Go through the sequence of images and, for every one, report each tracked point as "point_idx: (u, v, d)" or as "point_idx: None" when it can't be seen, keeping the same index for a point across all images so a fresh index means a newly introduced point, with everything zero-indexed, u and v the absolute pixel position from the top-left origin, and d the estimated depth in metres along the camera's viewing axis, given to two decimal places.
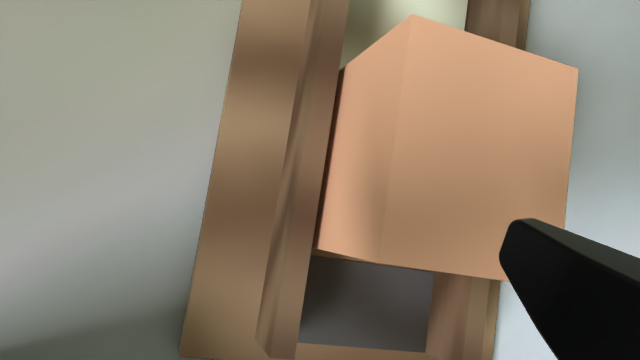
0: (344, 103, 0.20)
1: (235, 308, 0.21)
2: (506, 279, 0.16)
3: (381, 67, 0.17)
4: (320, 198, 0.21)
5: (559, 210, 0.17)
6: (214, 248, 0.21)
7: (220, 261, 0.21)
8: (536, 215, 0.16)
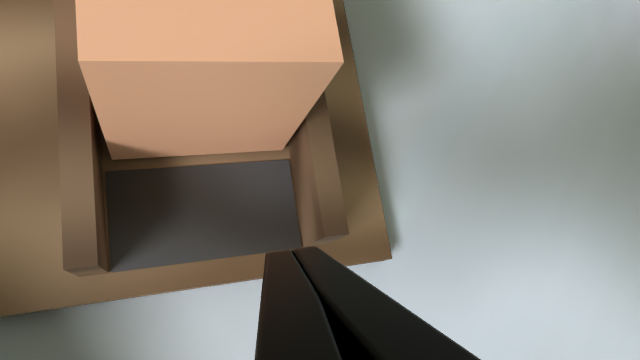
0: None
1: (44, 247, 0.18)
2: (269, 60, 0.13)
3: None
4: None
5: None
6: (2, 186, 0.18)
7: (13, 199, 0.18)
8: None
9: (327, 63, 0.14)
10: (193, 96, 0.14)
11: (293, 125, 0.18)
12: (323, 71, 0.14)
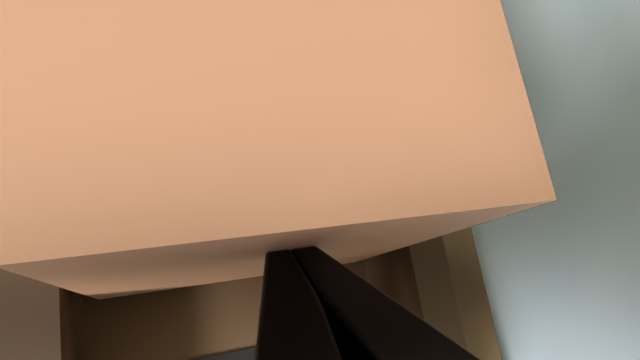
0: None
1: None
2: (422, 211, 0.06)
3: None
4: None
5: (496, 34, 0.07)
6: None
7: None
8: (446, 53, 0.07)
9: (526, 204, 0.07)
10: (248, 255, 0.07)
11: (392, 249, 0.11)
12: (506, 211, 0.07)
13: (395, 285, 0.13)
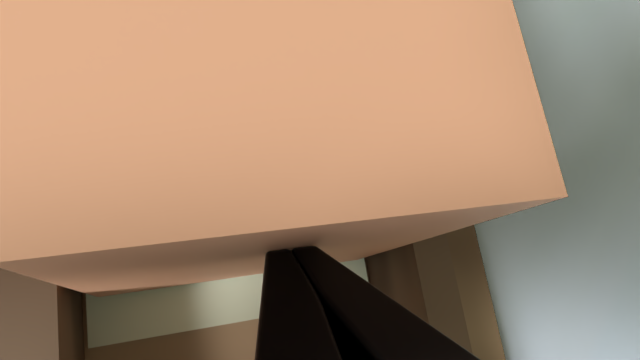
0: None
1: None
2: (430, 208, 0.06)
3: None
4: None
5: (505, 26, 0.07)
6: None
7: None
8: (455, 45, 0.07)
9: (536, 201, 0.07)
10: (250, 253, 0.07)
11: (395, 247, 0.11)
12: (515, 208, 0.07)
13: None
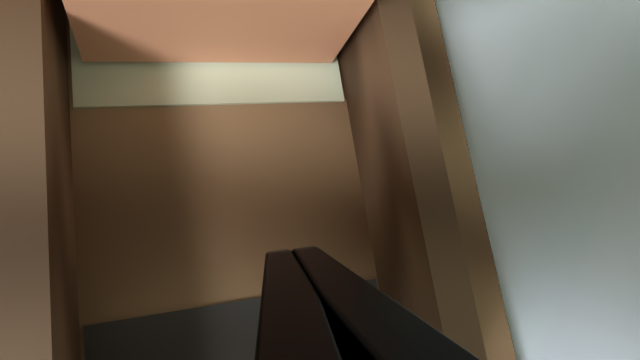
0: None
1: None
2: None
3: None
4: None
5: None
6: None
7: None
8: None
9: None
10: None
11: (361, 5, 0.12)
12: None
13: (399, 235, 0.12)
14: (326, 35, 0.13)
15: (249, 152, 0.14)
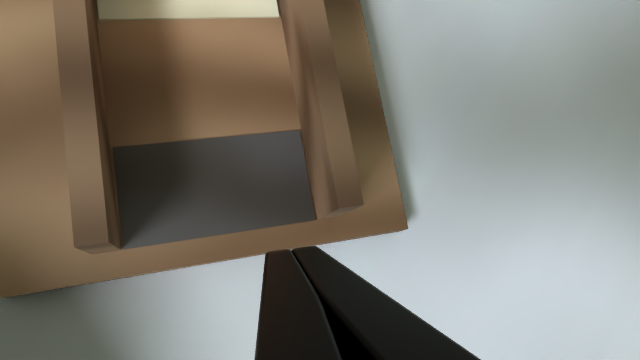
0: None
1: (55, 225, 0.17)
2: None
3: None
4: None
5: None
6: (9, 165, 0.17)
7: (22, 178, 0.17)
8: None
9: None
10: None
11: None
12: None
13: (307, 92, 0.19)
14: None
15: (213, 49, 0.21)
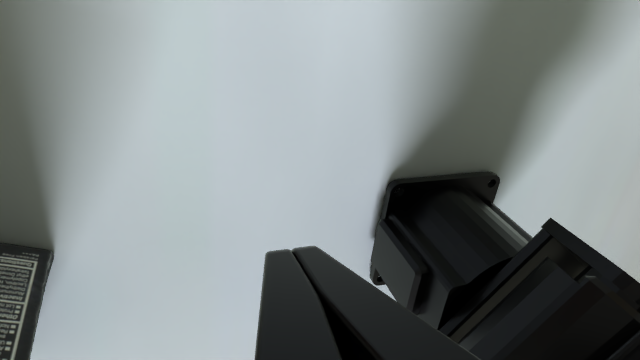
0: None
1: None
2: None
3: None
4: None
5: None
6: None
7: None
8: None
9: None
10: None
11: None
12: None
13: None
14: None
15: None
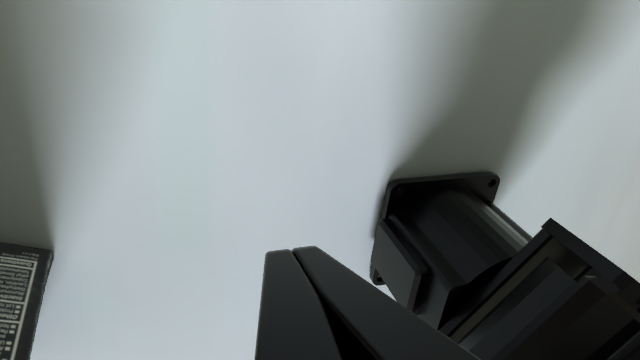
0: None
1: None
2: None
3: None
4: None
5: None
6: None
7: None
8: None
9: None
10: None
11: None
12: None
13: None
14: None
15: None
